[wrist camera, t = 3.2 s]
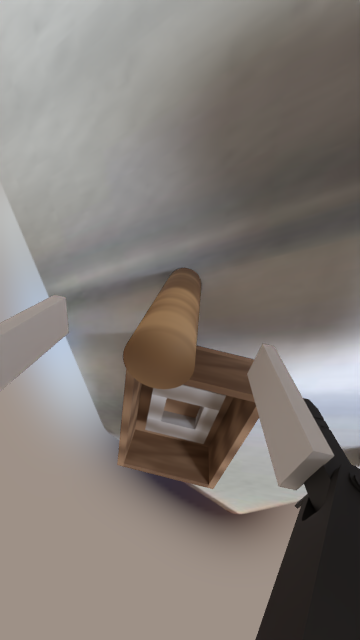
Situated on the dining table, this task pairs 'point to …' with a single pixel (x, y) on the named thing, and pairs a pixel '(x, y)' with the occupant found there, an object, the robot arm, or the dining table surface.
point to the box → (189, 421)
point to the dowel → (167, 334)
